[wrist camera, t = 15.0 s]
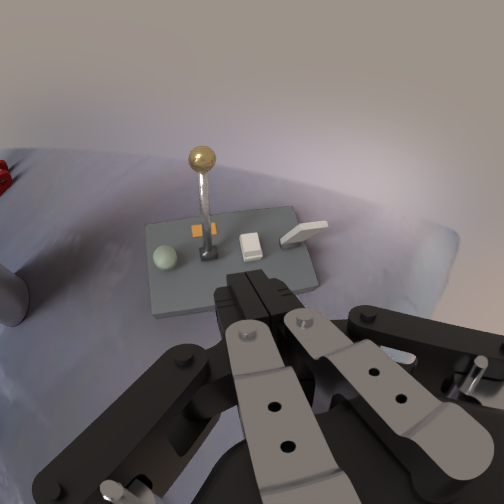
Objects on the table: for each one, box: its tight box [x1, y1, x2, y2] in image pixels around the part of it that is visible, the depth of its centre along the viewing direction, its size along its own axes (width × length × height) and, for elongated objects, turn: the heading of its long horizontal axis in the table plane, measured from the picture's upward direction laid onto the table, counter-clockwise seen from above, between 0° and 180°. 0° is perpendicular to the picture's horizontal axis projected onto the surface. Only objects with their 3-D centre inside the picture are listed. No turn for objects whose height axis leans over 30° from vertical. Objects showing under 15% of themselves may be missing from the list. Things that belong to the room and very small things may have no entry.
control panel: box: [145, 206, 319, 319], centre depth 41 cm, size 14×24×3 cm, turn 104°
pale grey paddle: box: [279, 220, 328, 250], centre depth 37 cm, size 2×4×10 cm, turn 104°
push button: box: [153, 245, 177, 271], centre depth 37 cm, size 3×3×3 cm
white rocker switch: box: [239, 232, 263, 262], centre depth 39 cm, size 4×2×2 cm, turn 14°
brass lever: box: [188, 146, 218, 262], centre depth 33 cm, size 3×3×16 cm
